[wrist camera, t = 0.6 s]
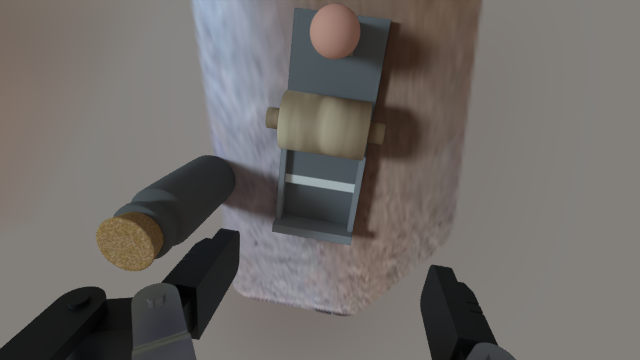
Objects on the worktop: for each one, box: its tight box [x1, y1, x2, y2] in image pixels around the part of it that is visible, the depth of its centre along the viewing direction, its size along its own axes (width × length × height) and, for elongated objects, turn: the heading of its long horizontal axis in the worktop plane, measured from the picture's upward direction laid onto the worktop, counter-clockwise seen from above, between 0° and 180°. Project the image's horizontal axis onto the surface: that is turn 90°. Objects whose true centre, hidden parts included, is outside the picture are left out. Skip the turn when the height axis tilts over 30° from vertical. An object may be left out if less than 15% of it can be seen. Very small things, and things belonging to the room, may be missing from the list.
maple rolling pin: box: [266, 90, 386, 161], centre depth 30 cm, size 11×6×6 cm, turn 83°
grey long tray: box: [272, 8, 391, 245], centre depth 33 cm, size 23×9×3 cm, turn 173°
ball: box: [310, 4, 360, 59], centre depth 25 cm, size 4×4×4 cm
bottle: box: [96, 155, 235, 271], centre depth 31 cm, size 6×6×15 cm
